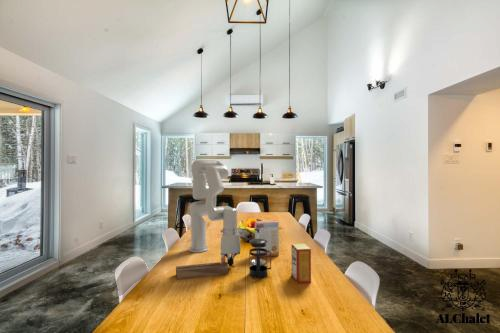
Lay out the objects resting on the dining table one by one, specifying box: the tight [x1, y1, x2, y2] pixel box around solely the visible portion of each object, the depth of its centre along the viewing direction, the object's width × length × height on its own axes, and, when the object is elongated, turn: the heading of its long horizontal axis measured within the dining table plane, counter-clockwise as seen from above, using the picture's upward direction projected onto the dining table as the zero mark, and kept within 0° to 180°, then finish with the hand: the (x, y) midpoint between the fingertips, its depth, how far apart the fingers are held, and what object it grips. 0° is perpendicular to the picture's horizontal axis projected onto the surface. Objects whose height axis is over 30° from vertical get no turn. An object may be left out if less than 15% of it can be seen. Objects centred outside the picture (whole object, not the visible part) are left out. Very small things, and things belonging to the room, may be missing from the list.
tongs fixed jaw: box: [176, 261, 229, 280], centre depth 131 cm, size 4×25×5 cm, turn 105°
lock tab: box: [220, 255, 226, 265], centre depth 138 cm, size 2×7×6 cm, turn 105°
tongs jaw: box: [175, 261, 221, 277], centre depth 133 cm, size 2×22×4 cm, turn 105°
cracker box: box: [254, 219, 280, 258], centre depth 161 cm, size 14×6×21 cm, turn 100°
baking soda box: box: [291, 242, 312, 284], centre depth 126 cm, size 10×6×16 cm
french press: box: [248, 228, 272, 279], centre depth 131 cm, size 12×9×23 cm
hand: (230, 265), depth 140 cm, fingers closed
